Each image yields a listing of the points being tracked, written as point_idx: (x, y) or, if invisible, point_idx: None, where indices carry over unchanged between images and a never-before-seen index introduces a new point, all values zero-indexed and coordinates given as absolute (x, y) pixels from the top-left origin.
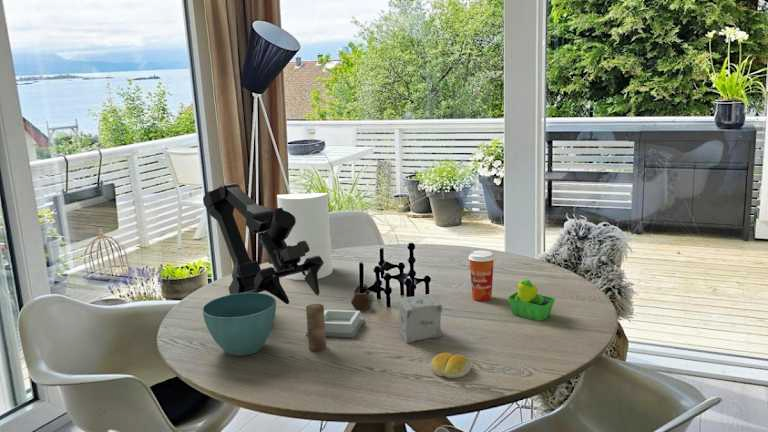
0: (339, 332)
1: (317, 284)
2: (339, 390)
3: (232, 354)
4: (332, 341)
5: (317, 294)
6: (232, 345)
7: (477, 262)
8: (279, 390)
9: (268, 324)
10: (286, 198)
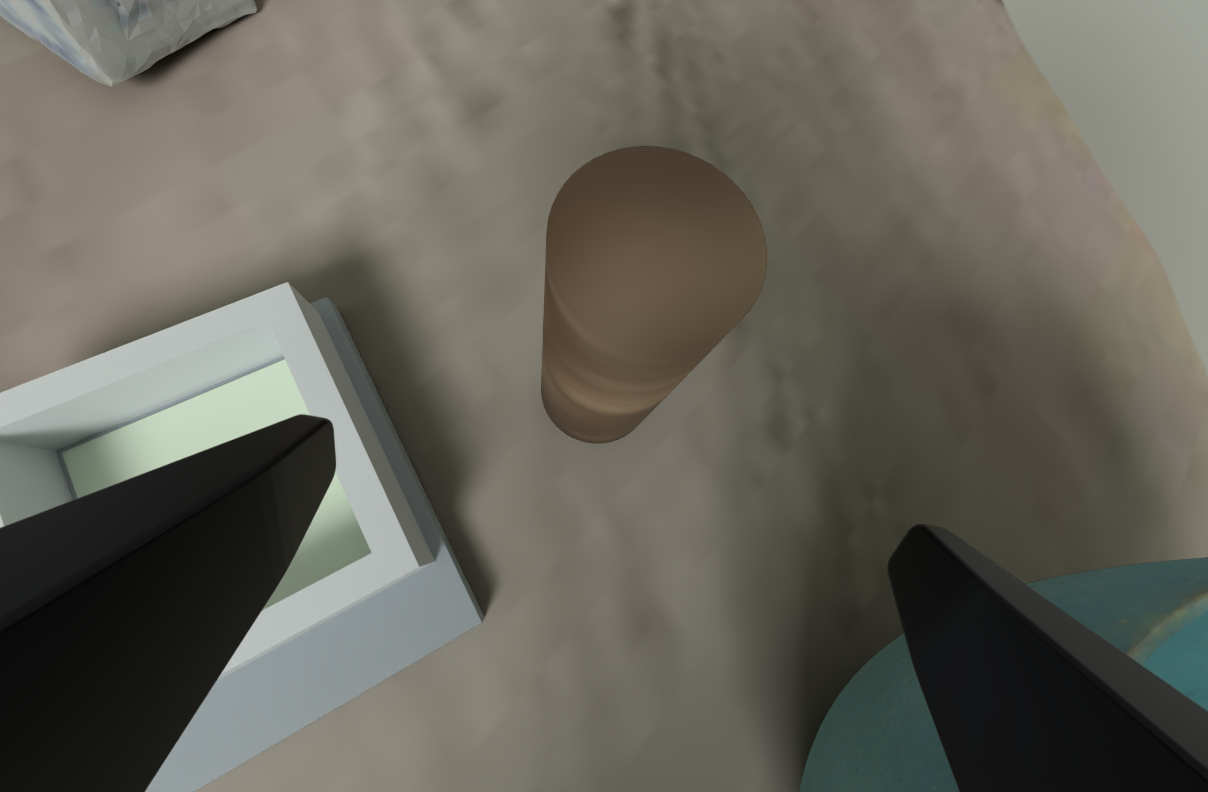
0: (356, 390)
1: (123, 492)
2: (849, 18)
3: None
4: (464, 379)
5: (332, 449)
6: None
7: None
8: (1022, 208)
9: (1028, 585)
10: None
